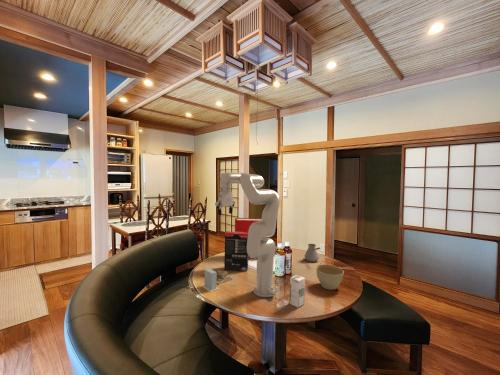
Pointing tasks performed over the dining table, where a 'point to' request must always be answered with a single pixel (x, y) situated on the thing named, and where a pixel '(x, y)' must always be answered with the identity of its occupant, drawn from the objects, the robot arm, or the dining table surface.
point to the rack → (222, 280)
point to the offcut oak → (222, 279)
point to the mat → (209, 289)
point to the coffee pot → (311, 253)
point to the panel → (210, 279)
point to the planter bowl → (329, 276)
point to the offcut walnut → (222, 274)
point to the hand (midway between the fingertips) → (225, 214)
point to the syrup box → (297, 291)
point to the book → (244, 224)
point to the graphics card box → (236, 251)
